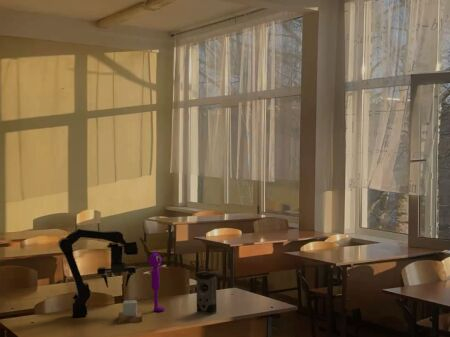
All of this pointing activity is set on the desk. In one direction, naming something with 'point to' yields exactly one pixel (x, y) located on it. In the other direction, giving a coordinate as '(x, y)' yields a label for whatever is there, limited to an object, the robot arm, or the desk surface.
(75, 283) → the robot arm
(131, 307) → the cube
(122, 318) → the walnut block
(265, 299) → the desk surface
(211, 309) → the electronic device
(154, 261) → the toy
